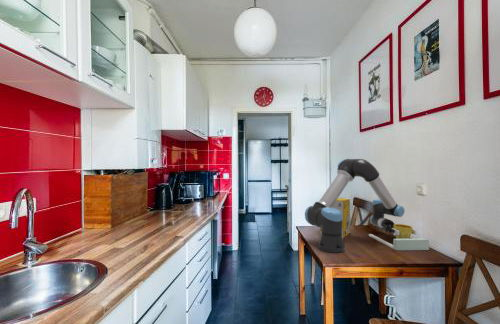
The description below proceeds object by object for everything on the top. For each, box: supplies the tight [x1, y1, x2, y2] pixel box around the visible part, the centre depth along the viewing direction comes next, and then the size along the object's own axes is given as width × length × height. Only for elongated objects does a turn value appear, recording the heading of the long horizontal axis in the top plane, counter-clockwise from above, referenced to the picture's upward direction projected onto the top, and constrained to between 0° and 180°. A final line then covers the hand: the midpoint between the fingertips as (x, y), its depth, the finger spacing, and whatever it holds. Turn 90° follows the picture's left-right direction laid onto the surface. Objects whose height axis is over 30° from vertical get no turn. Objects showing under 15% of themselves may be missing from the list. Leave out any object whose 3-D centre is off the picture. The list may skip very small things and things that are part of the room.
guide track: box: [368, 233, 430, 251], centre depth 173 cm, size 32×20×6 cm, turn 4°
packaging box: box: [319, 197, 351, 239], centre depth 192 cm, size 16×16×25 cm
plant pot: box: [393, 223, 414, 239], centre depth 166 cm, size 10×10×10 cm
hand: (407, 232), depth 162 cm, fingers closed on plant pot, 10 cm apart
